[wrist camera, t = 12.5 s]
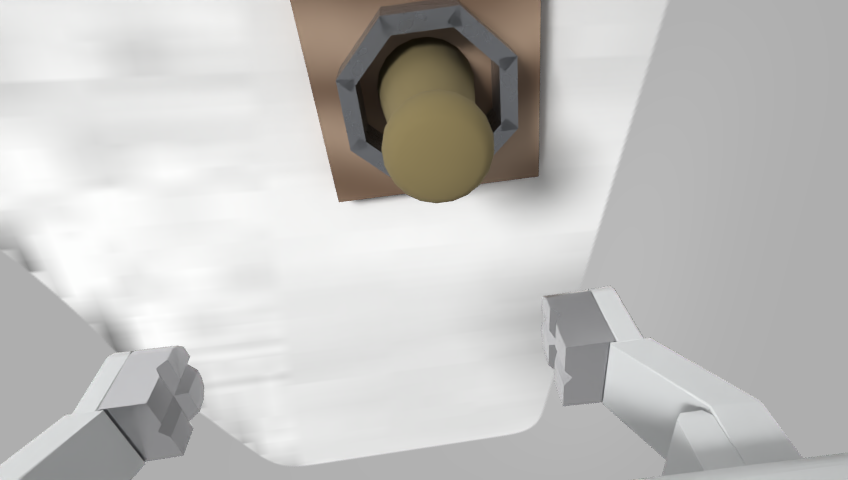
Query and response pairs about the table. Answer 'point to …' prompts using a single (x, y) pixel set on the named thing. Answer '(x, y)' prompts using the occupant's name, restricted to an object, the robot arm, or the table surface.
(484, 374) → the table surface
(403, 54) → the cork
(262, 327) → the table surface
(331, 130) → the walnut base
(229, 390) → the table surface
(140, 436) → the robot arm
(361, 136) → the metal collar
